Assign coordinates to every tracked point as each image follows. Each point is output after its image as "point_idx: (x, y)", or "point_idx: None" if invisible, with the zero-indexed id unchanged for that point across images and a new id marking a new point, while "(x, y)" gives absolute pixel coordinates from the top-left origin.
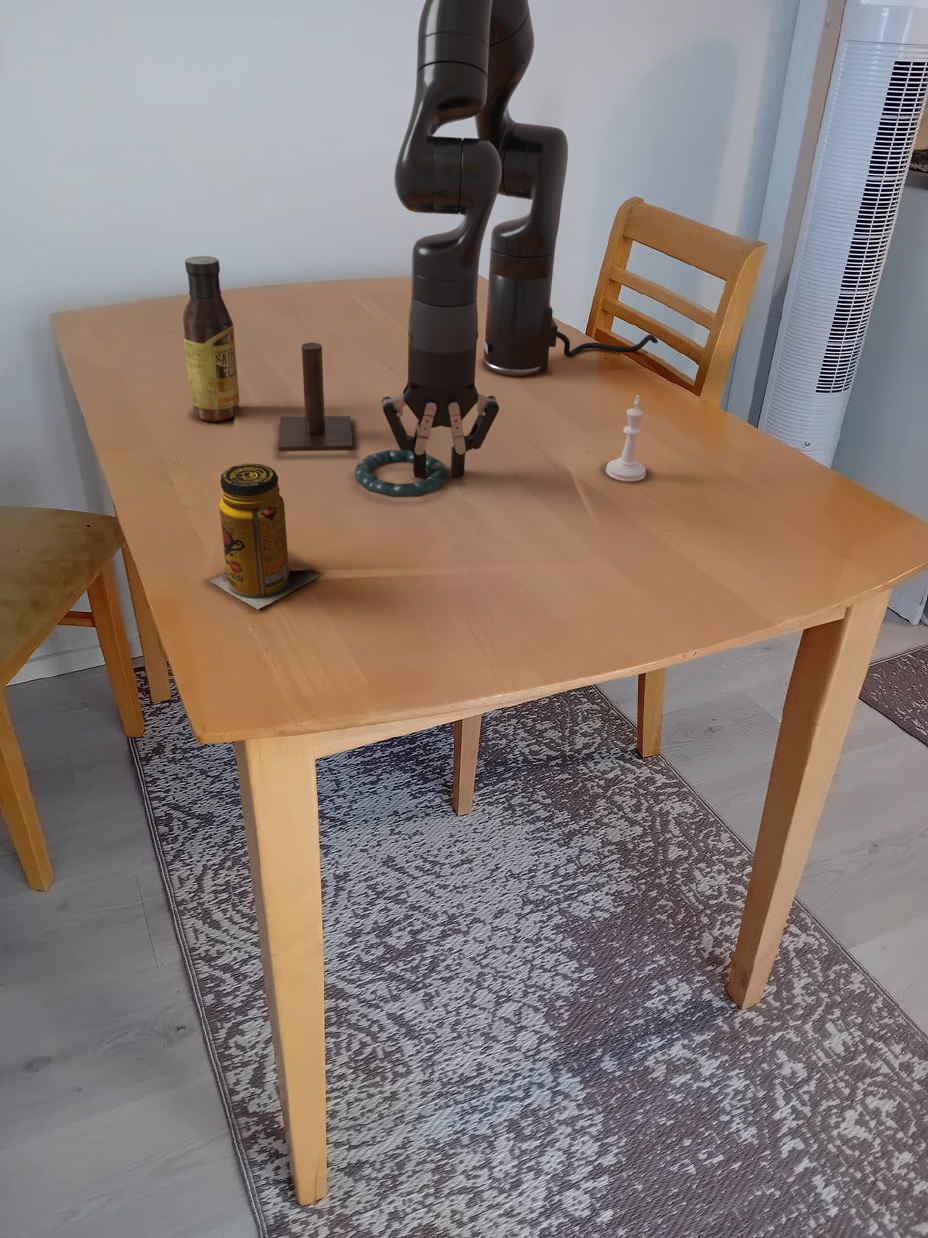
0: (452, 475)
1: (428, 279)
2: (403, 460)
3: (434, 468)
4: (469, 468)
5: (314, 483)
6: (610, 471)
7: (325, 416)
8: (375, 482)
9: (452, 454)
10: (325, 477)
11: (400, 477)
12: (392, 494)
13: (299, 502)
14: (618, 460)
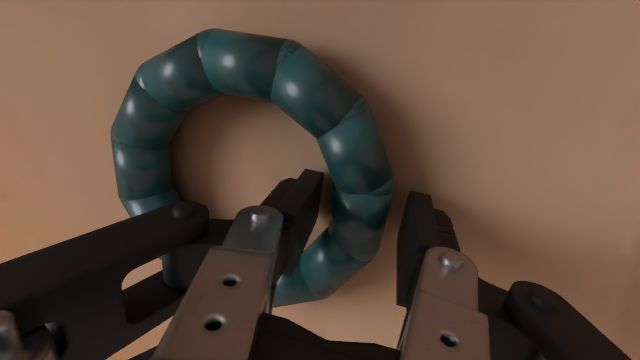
0: (398, 242)
1: None
2: (262, 100)
3: (340, 228)
4: (507, 137)
5: (45, 127)
6: None
7: None
8: (160, 256)
9: (405, 264)
10: (63, 99)
11: (258, 147)
12: None
13: (35, 207)
14: None
